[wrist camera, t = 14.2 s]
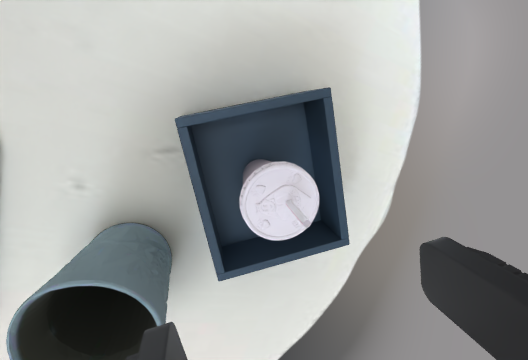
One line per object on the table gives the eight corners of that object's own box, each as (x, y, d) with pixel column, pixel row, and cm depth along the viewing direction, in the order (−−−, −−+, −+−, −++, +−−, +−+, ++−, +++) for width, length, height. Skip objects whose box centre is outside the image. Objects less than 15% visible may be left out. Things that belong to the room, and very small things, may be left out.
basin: (180, 116, 30) (174, 118, 24) (307, 90, 31) (330, 87, 26) (216, 251, 34) (218, 282, 28) (326, 222, 36) (349, 244, 30)
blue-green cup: (196, 260, 34) (192, 339, 22) (128, 316, 34) (89, 424, 22) (130, 197, 31) (85, 251, 19) (55, 259, 31) (-34, 350, 19)
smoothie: (290, 197, 33) (347, 258, 20) (235, 208, 32) (256, 280, 19) (284, 142, 32) (342, 168, 18) (225, 151, 31) (241, 186, 17)
